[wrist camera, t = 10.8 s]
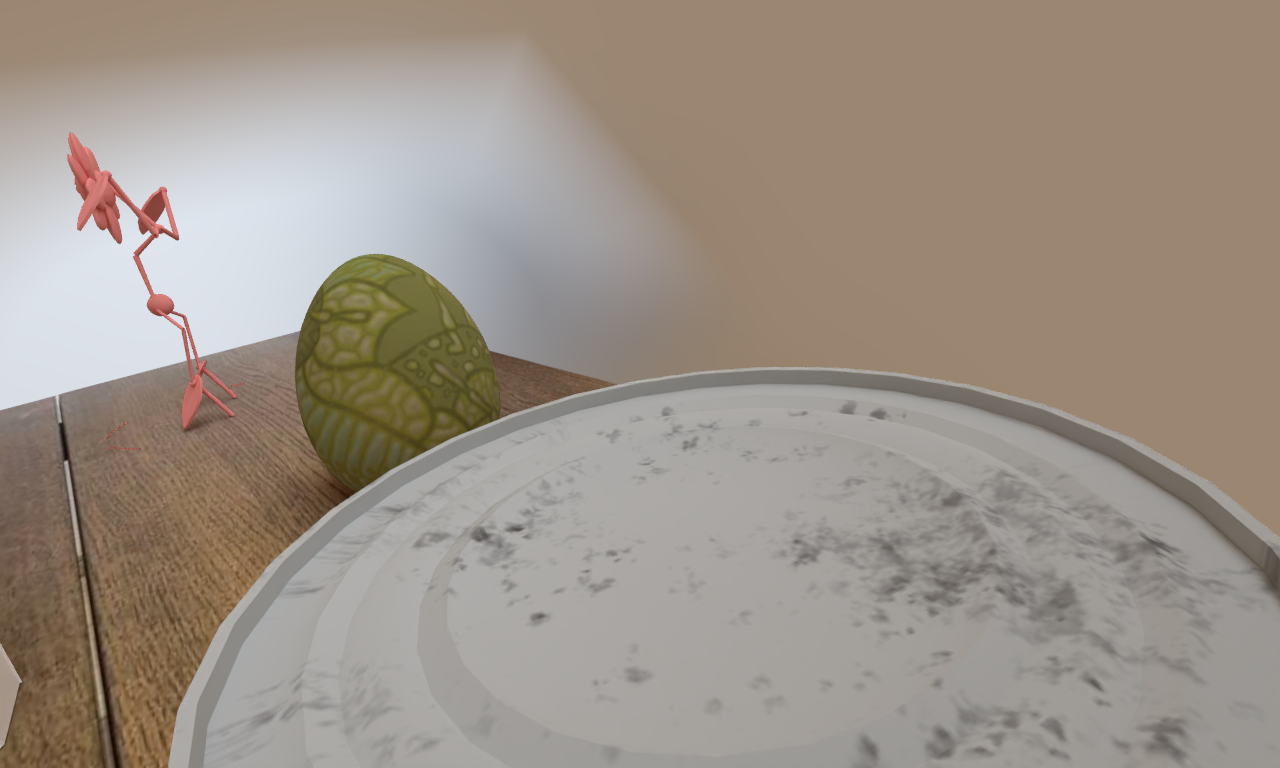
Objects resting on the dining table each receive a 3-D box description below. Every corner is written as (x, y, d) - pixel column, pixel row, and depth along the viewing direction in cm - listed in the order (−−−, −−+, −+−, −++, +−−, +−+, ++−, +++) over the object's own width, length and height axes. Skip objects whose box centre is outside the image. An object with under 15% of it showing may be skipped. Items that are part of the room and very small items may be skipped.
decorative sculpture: (287, 514, 57) (204, 284, 51) (410, 433, 72) (358, 244, 65) (445, 529, 51) (374, 270, 45) (545, 437, 66) (503, 229, 59)
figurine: (245, 381, 101) (158, 135, 90) (239, 433, 79) (122, 116, 68) (124, 411, 95) (13, 151, 83) (81, 475, 73) (-78, 134, 61)
